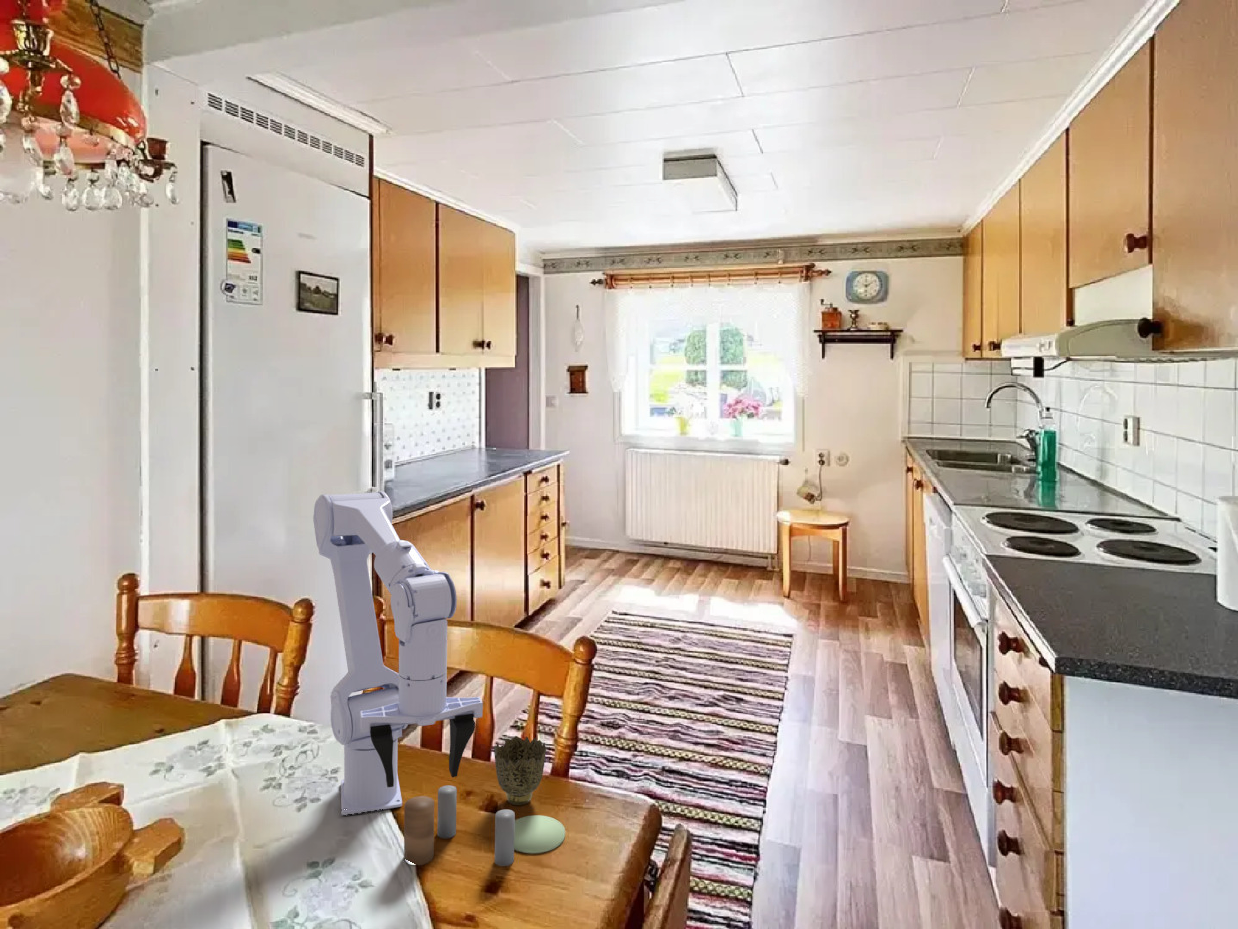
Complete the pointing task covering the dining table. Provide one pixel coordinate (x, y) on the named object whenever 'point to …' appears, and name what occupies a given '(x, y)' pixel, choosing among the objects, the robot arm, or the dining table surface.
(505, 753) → the cup
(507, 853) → the post
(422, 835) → the dowel
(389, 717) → the robot arm
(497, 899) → the dining table surface
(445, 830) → the post
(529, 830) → the coaster
